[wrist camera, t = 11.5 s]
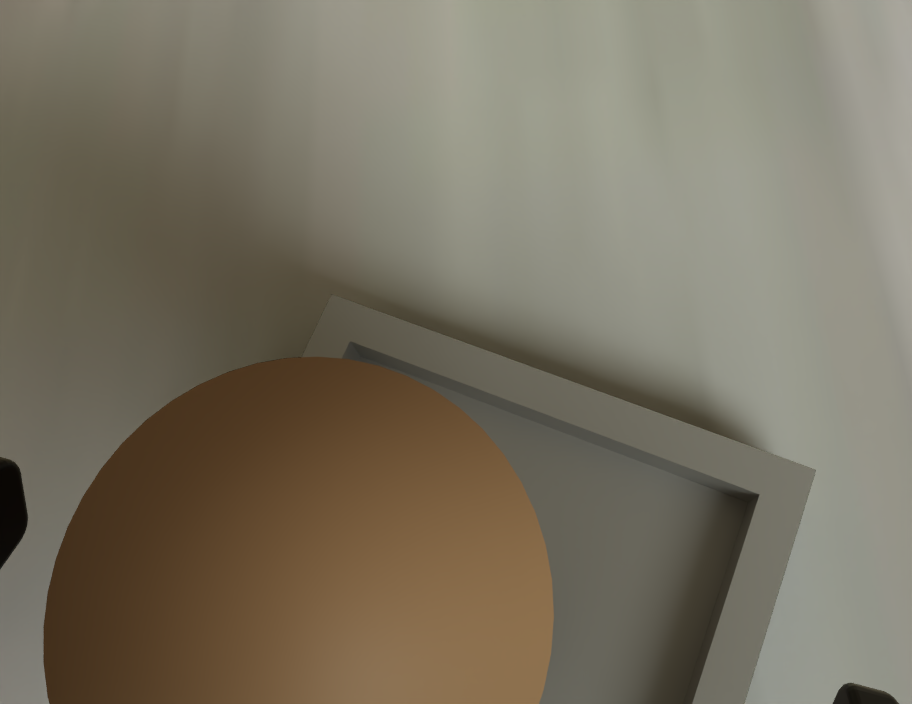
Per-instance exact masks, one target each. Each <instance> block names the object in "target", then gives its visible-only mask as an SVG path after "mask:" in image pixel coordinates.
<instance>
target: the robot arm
mask: <svg viewBox="0 0 912 704" xmlns="http://www.w3.org/2000/svg"><path fill="white" fill-rule="evenodd" d="M27 522H28V514H27V508H26V502H25V496H24V490H23V484H22V478H21V472H20V469H19V467H18V466H17V464H16V463H15V462H13V461H12V460H9V459H5V458H2V457H0V569H1V568H2V566H3V565H4V563H5V562H6V561H7V559H8V558H9V556H10V555H11V554H12V552H13V551H14V549H15V548H16V546H17V545H18V544H19V542H20V541H21V539H22V537H23V535H24V533H25V531H26V527H27ZM833 704H899V703H898V702H897V701H896V699H895V698H894V697H892V696H891V695H890V694H888V693H886V692H884V691H881V690H877V689H873V688H869V687H866V686H862V685H858V684H854V683H847V684H844V685H843V686H842V687H841V688H840V689H839V691H838V693H837V695H836V697H835V700H834V702H833Z"/></svg>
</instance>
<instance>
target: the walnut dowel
mask: <svg viewBox="0 0 912 704" xmlns="http://www.w3.org/2000/svg"><path fill="white" fill-rule="evenodd" d="M553 622H554V609H553V589H552V577H551V572H550V566H549V560H548V555H547V549H546V544H545V541H544V538H543V535H542V532H541V529H540V525H539V522H538V519H537V516H536V513H535V510H534V508H533V506H532V504H531V502H530V500H529V497H528V495H527V493H526V491H525V489H524V487H523V485H522V482H521V481H520V479H519V477H518V476H517V474H516V473H515V471H514V470H513V468H512V466H511V465H510V463H509V462H508V460H507V459H506V457H505V455H504V454H503V453H502V451H501V450H500V449H499V448H498V447H497V445H496V444H495V443H494V442H493V441H492V439H491V438H490V437H489V436H488V435H487V433H486V432H485V431H484V430H483V429H482V428H481V427H480V426H479V425H478V424H477V423H476V422H475V421H473V420H472V419H471V418H470V417H469V416H468V415H467V414H466V413H465V412H464V411H463V410H461V409H460V408H459V407H458V406H456V405H455V404H454V403H452V402H451V401H449V400H448V399H446V398H445V397H443V396H442V395H441V394H439V393H438V392H436V391H435V390H433V389H431V388H429V387H427V386H426V385H424V384H422V383H420V382H418V381H416V380H414V379H412V378H410V377H408V376H406V375H403V374H400V373H398V372H395V371H392V370H389V369H386V368H383V367H381V366H378V365H373V364H369V363H364V362H359V361H355V360H350V359H341V358H329V357H298V358H284V359H279V360H273V361H267V362H261V363H256V364H253V365H250V366H246V367H243V368H240V369H237V370H233V371H230V372H227V373H225V374H222V375H220V376H218V377H216V378H213V379H211V380H209V381H207V382H204V383H202V384H200V385H198V386H196V387H194V388H193V389H191V390H189V391H188V392H186V393H184V394H183V395H181V396H179V397H178V398H176V399H174V400H172V401H171V402H170V403H168V404H167V405H166V406H164V407H163V408H162V409H160V410H159V411H158V412H156V413H155V414H154V415H153V416H151V417H150V418H149V419H147V420H146V421H145V422H144V423H143V424H142V425H141V426H140V427H139V428H138V429H137V430H136V431H135V432H133V433H132V434H131V435H130V436H129V437H128V438H127V439H126V440H125V441H124V442H123V443H122V444H121V445H120V447H119V448H118V449H117V450H116V451H115V453H114V454H113V455H112V456H111V458H110V459H109V460H108V461H107V462H106V464H105V465H104V466H103V467H102V468H101V470H100V471H99V473H98V474H97V476H96V478H95V479H94V481H93V482H92V484H91V485H90V487H89V488H88V490H87V491H86V493H85V494H84V496H83V498H82V500H81V502H80V504H79V506H78V508H77V510H76V512H75V514H74V516H73V518H72V520H71V522H70V524H69V526H68V528H67V530H66V533H65V536H64V539H63V541H62V544H61V547H60V549H59V552H58V555H57V558H56V561H55V565H54V569H53V573H52V578H51V582H50V586H49V590H48V596H47V604H46V612H45V620H44V669H45V678H46V686H47V694H48V699H49V703H50V704H539V702H540V699H541V696H542V693H543V690H544V685H545V681H546V676H547V671H548V666H549V661H550V656H551V648H552V635H553Z"/></svg>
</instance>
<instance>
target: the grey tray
mask: <svg viewBox="0 0 912 704" xmlns="http://www.w3.org/2000/svg"><path fill="white" fill-rule="evenodd" d="M302 357H329V358H341V359H350V360H355V361H359V362H364V363H369V364H373V365H378V366H381V367H383V368H386V369H389V370H392V371H395V372H398V373H400V374H403V375H406V376H408V377H410V378H412V379H414V380H416V381H418V382H420V383H422V384H424V385H426V386H427V387H429V388H431V389H433V390H435V391H436V392H438V393H439V394H441V395H442V396H443V397H445V398H446V399H448V400H449V401H451V402H452V403H454V404H455V405H456V406H458V407H459V408H460V409H461V410H463V411H464V412H465V413H466V414H467V415H468V416H469V417H470V418H471V419H472V420H473V421H475V422H476V423H477V424H478V425H479V426H480V427H481V428H482V429H483V430H484V431H485V432H486V433H487V435H488V436H489V437H490V438H491V439H492V441H493V442H494V443H495V444H496V445H497V447H498V448H499V449H500V450H501V451H502V453H503V454H504V455H505V457H506V459H507V460H508V462H509V463H510V465H511V466H512V468H513V470H514V471H515V473H516V474H517V476H518V477H519V479H520V481H521V482H522V485H523V487H524V489H525V491H526V493H527V495H528V497H529V500H530V502H531V504H532V506H533V508H534V510H535V513H536V516H537V519H538V522H539V525H540V529H541V532H542V535H543V538H544V541H545V544H546V549H547V555H548V560H549V566H550V572H551V577H552V589H553V609H554V622H553V635H552V648H551V656H550V661H549V666H548V671H547V676H546V681H545V685H544V690H543V693H542V696H541V699H540V702H539V704H744V703H745V700H746V697H747V694H748V690H749V687H750V684H751V681H752V677H753V674H754V671H755V668H756V664H757V661H758V658H759V654H760V651H761V648H762V645H763V641H764V638H765V635H766V632H767V628H768V625H769V622H770V619H771V615H772V612H773V609H774V606H775V602H776V599H777V596H778V593H779V589H780V586H781V583H782V580H783V576H784V573H785V570H786V567H787V563H788V560H789V557H790V554H791V550H792V547H793V544H794V541H795V537H796V534H797V531H798V528H799V524H800V521H801V518H802V515H803V511H804V508H805V505H806V502H807V498H808V495H809V492H810V489H811V485H812V482H813V479H814V476H815V472H816V470H815V469H812V468H809V467H807V466H804V465H801V464H798V463H796V462H793V461H790V460H787V459H785V458H782V457H779V456H776V455H774V454H771V453H768V452H765V451H763V450H760V449H757V448H754V447H752V446H749V445H746V444H743V443H741V442H738V441H735V440H732V439H729V438H727V437H724V436H721V435H718V434H716V433H713V432H710V431H707V430H705V429H702V428H699V427H696V426H694V425H691V424H688V423H685V422H683V421H680V420H677V419H674V418H672V417H669V416H666V415H663V414H661V413H658V412H655V411H652V410H650V409H647V408H644V407H641V406H639V405H636V404H633V403H630V402H628V401H625V400H622V399H619V398H617V397H614V396H611V395H608V394H606V393H603V392H600V391H597V390H595V389H592V388H589V387H586V386H584V385H581V384H578V383H575V382H572V381H570V380H567V379H564V378H561V377H559V376H556V375H553V374H550V373H548V372H545V371H542V370H539V369H537V368H534V367H531V366H528V365H526V364H523V363H520V362H517V361H515V360H512V359H509V358H506V357H504V356H501V355H498V354H495V353H493V352H490V351H487V350H484V349H482V348H479V347H476V346H473V345H471V344H468V343H465V342H462V341H460V340H457V339H454V338H451V337H449V336H446V335H443V334H440V333H438V332H435V331H432V330H429V329H427V328H424V327H421V326H418V325H416V324H413V323H410V322H407V321H404V320H402V319H399V318H396V317H393V316H391V315H388V314H385V313H382V312H380V311H377V310H374V309H371V308H369V307H366V306H363V305H360V304H358V303H355V302H352V301H349V300H347V299H344V298H341V297H338V296H336V295H333V294H331V296H330V299H329V301H328V303H327V305H326V307H325V309H324V311H323V313H322V315H321V317H320V319H319V321H318V323H317V326H316V328H315V330H314V332H313V334H312V336H311V338H310V340H309V342H308V344H307V346H306V348H305V351H304V353H303V355H302Z"/></svg>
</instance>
